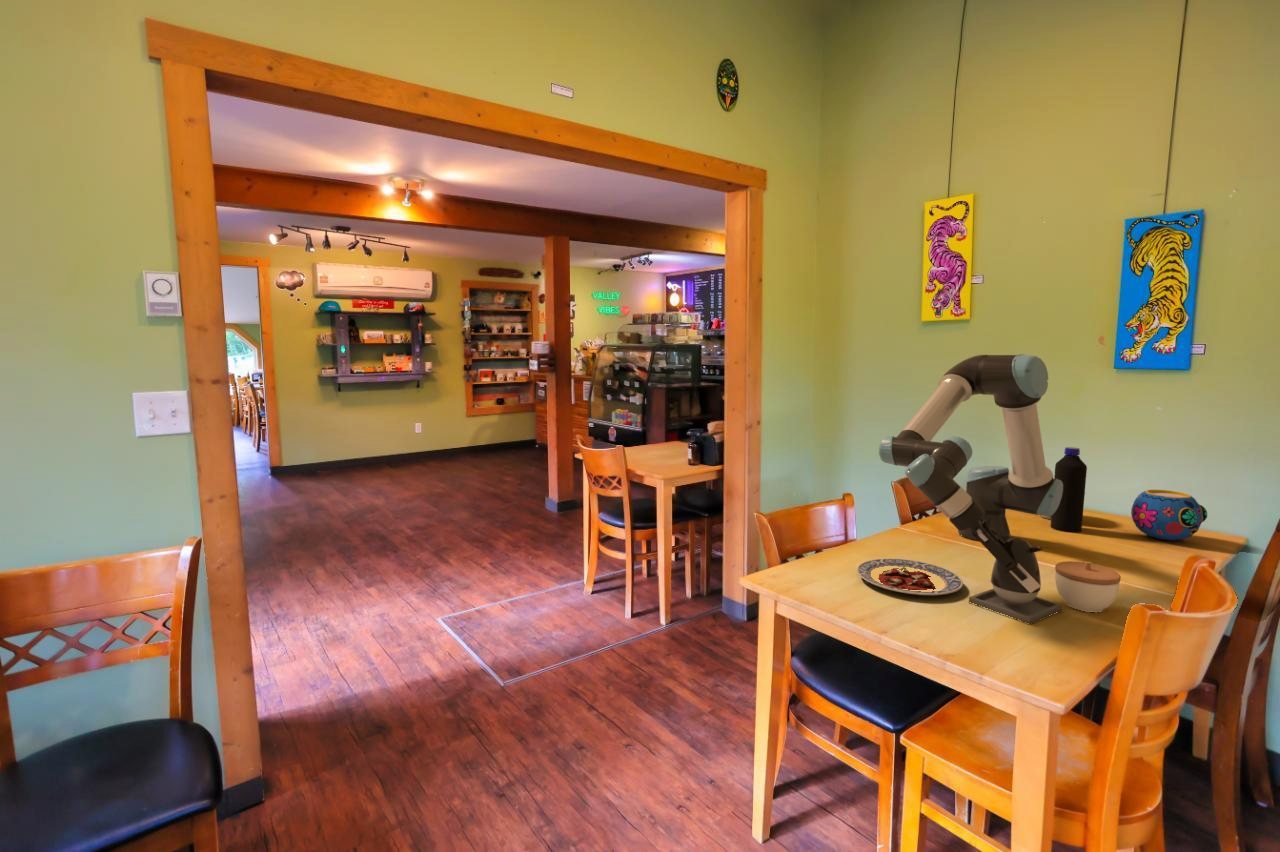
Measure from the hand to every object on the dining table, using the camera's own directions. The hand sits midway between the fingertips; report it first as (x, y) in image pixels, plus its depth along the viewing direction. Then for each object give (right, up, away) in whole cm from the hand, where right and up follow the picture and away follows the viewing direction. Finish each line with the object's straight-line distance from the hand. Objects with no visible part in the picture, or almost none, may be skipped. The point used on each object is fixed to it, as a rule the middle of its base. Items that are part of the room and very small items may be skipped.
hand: (1031, 581), depth 146 cm
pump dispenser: (-3, -5, +2) cm, 6 cm away
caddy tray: (-3, -7, +2) cm, 7 cm away
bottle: (+54, +1, +66) cm, 85 cm away
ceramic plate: (-21, -5, +18) cm, 29 cm away
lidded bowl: (+14, -7, +2) cm, 16 cm away
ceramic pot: (+78, 0, +55) cm, 95 cm away
